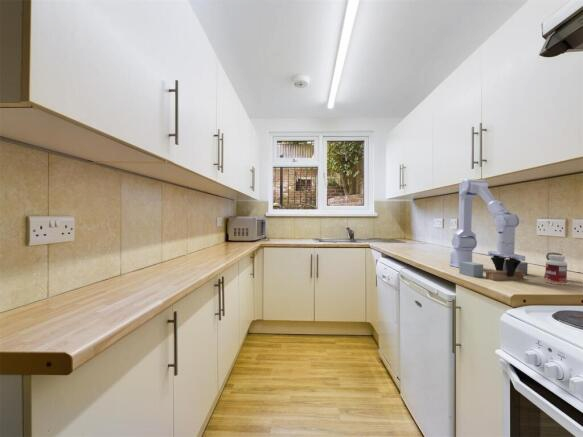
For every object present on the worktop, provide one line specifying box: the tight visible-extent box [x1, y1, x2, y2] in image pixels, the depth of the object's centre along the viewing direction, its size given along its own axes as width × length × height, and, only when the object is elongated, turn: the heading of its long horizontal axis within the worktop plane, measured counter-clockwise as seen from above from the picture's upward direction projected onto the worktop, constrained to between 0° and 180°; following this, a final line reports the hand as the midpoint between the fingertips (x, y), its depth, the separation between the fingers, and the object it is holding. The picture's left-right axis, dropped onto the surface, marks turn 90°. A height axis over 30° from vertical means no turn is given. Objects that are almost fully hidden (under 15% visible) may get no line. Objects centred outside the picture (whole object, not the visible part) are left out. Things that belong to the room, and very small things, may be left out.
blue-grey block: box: [458, 261, 484, 278], centre depth 124 cm, size 7×5×5 cm
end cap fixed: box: [503, 261, 529, 276], centre depth 130 cm, size 7×5×5 cm
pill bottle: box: [544, 254, 568, 286], centre depth 111 cm, size 6×6×11 cm
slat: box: [485, 270, 525, 281], centre depth 118 cm, size 3×16×4 cm, turn 104°
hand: (504, 275), depth 118 cm, fingers open, 4 cm apart
